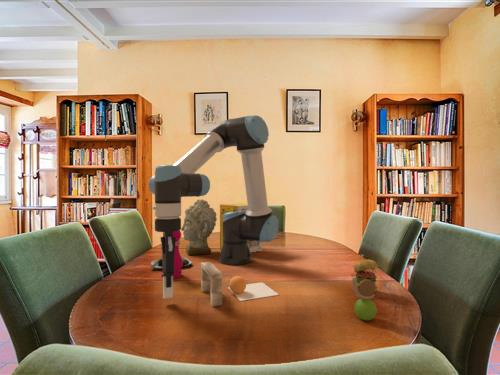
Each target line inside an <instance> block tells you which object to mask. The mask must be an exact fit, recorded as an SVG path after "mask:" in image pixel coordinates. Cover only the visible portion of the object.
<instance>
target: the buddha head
mask: <svg viewBox="0 0 500 375" xmlns="http://www.w3.org/2000/svg"><path fill="white" fill-rule="evenodd" d="M210 206H211V205H210V204H209V203H208V201H207V200H204V199H197V200H196V201H195V202H194V204H193V205H189V207H188V208H186V209H185V211H184V213H185V214H184V215H185V216H184V219H183V224H182V225H181V230H180V231H182V232H183V233H182V234H183V239H184V241H187V242H188V243H189V244H186V245H185V246H186V248H185V252H186V254H187V255H188V256H196V255H210V254H212V248H210V246H209V244H208V238H210V236H211V235H212V234H213V231H214V229H215V227H216V224H217V223H216V222H217V220H218V218H217V213H216V211H215V209H214V208H213V207H210Z"/></svg>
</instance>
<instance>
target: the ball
mask: <svg viewBox="0 0 500 375" xmlns="http://www.w3.org/2000/svg"><path fill="white" fill-rule="evenodd" d="M246 284H247V282H246V280H245V278H244V277H242V276H241V275H236V276H233V277H232V278H231V279H230V280H229V283H228V287H230V290H231V291H232V292H233V293H235V294H240V293H242V292H243V291H244V290H245V288H246ZM230 290H229V291H230ZM231 291H230V292H231ZM232 292H231V293H232ZM233 293H232V294H233Z"/></svg>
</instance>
